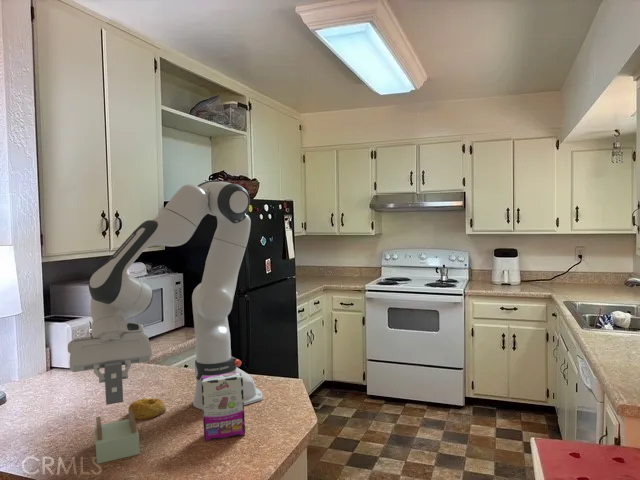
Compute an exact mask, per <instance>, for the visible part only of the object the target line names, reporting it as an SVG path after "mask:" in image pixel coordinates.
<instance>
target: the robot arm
mask: <svg viewBox="0 0 640 480" xmlns="http://www.w3.org/2000/svg"><path fill="white" fill-rule="evenodd" d="M250 204H251V198H250V195H249V192H248V191H247V189H246V188H245V187H243V186H241V185H240V184H237V183H231V182H227V181H210V180H207V181H205V182H201V183H199V184H198V185H196V184H195V185H194V184H191V183H189V184H188V183H187V184H183V186H181V187H180V188H179V189H178V190H177V191H176V193H174V195H172V197H171V198H170V200H169V201H168V202H167V203H166V204H165V207H164V208H163V209H162V210H161V212H160V213H159V214H158V215H157V216H155V218H153V219H151V220H150V219H149V220H146V221H143V222H142V223H141V224H140V225H139V226H138V227H136V229H134V231H133V232H132V233H131V234H130V235H129V236H128V237H127V238H126V239H125V241H124V242H123V243H122V244H121V245H120V246H119V247H118V248H117V250H116V251H115V252H114V253H113V254H112V255H111V256H110V257H109V258H108V260H107V261H105V262H104V263H103V264H102V265H100V266H99V268H97V269H96V270H94V272H93V273H92V275H91V276H90V277H89V280H88V291H89V294H90V296H91V297H90V317H91V320H92V324H91V336H85V337H76V338H74V339H72V340H71V341H69V342H68V343H67V352H68V353H69V360H68V361H69V362H68V363H69V370H70V371H72V372H73V373H78V372H87V371H93V373H94V375H96V376H97V377H96V378H98V384H100V383H105V372H104V373H102V372H101V371H100V369H104V363H107V362H114V361H121V364H122V366H124V367H125V368H124V370H123V369H122V380H127V379H128V378H129V377H128V376H129V371H130V369H131V367H132V364H139V363H146V362H150V360H151V359H152V355H153V353H152V345H151V343H150V342H151V341H150V339H149V337H148V335H147V334H146V333H145V328H144V325H143V324H141V323H136V322H130V321H126V320H129V319H132V318H134V317H137V316H139V315H142V314H143V313H144V312H146V311H147V310H149V308H150V306H151V304H152V302H153V298H154V297H153V296H154V291H153V289H152V286H151V285H149V284H148V283H145V282H144V281H142V280H140V279H138V278H137V277H134V276H132V275H131V274H129V273H128V270H129V269H130V267H131V266H132V265H133V264H134V263H135V261H136V260H137V259H138V258H139V257H140V255H141V254H143V252H144V251H145V250H146V249H148V248H149V247H152V246H163V247H179V246H182V245H184V244H186V243H188V241H190V239H191V238H192V237H193V235H194V234H195V232H196V230H197V229H198V226H199V225H200V223H201V222H202V220H203V218H205V217H206V216H207V215H211V216H214V217H216V220H217V221H216V222H217V223H216V224H217V226H216V229H215V232H214V234H213V238H212V239H211V240H212V241H211V243H210V246H209V250H208V254H207V256H206V259H205V265H204V269H203V270H204V271H203V274H202V277H201V278H202V279H201V282H200V283H199V284H197V286H196V287H195V288H194V289H193V292H192V294H191V303H192V315H193V327H194V336H195V337H194V339H195V357H196V358H195V361H194V375H195V380H196V381H195V392H194V397H193V401H192V406H193V407H194V408H197V409H199V410H203V407H202V388H201V377H206V376H214V375H221V374H229V373H238V372H241V375H242V378H243V398H244V406H247V405H249V404H253V403H256V402H260V401H262V400H263V398H264V395H263V392H262V391H261V390H260V388H258V387H256V383H255V381H254V379H253V377H252V376H251V375H250V374H249V373H247V372H246V371H244V370H242V369H240V368H239V367H241V365H242V361H241V360H240V359H238V358H236V357H234V356H232V349H231V345H232V344H231V332H230V326H229V320H228V319H229V318H228V317H229V315H230V314H231V311H232V309H233V303H234V297H235V292H236V290H237V289H236V288H237V282H238V277H239V272H240V269H241V266H242V262H243V260H244V259H243V258H244V256H245V251H246V248H247V246H248V242H249V238H250V233H251V224H252V222H251V221H252V220H251V218H250V215H249V213H250V212H249V210H250Z"/></svg>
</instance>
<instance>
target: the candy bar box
mask: <svg viewBox="0 0 640 480" xmlns="http://www.w3.org/2000/svg"><path fill="white" fill-rule="evenodd" d="M201 388H202V407H203V409H202V422H203V423H202V424H203V437H204V442H209V441H216V440H222V439H228V438H234V437H240V436H245V435H246V424H245V423H246V422H245V421H246V419H245V418H246V417H245V405H244V398H243V378H242V375H241V372H238V373H229V374H221V375H214V376H206V377H201Z"/></svg>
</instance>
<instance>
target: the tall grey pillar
mask: <svg viewBox="0 0 640 480" xmlns="http://www.w3.org/2000/svg"><path fill="white" fill-rule="evenodd" d="M103 369H104V371H103V372H104V373H105V382H104V388H105V392H104V393H105V405H106V406H108V405H113V404H118V403H119V404H120V403H124V388H123V379H122V371H123V365H122V364H121V361H114V362H107V363H104V368H103Z"/></svg>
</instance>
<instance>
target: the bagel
mask: <svg viewBox="0 0 640 480" xmlns="http://www.w3.org/2000/svg"><path fill="white" fill-rule="evenodd" d="M131 410H132V411H133V414H134V417H135V420H148V419H149V418H150V419H153V418H155V417H157V416H159V415H162V414H164V413H166V411H167V406H166V404H165V403H164V401H163V400H162V399H160V398H141V399H136V400H135V401H132V402H131V403H130V404H129V406H128V412H129V411H131Z"/></svg>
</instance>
